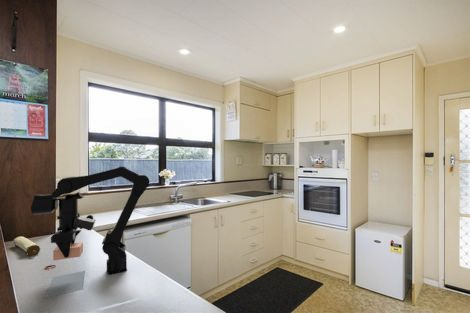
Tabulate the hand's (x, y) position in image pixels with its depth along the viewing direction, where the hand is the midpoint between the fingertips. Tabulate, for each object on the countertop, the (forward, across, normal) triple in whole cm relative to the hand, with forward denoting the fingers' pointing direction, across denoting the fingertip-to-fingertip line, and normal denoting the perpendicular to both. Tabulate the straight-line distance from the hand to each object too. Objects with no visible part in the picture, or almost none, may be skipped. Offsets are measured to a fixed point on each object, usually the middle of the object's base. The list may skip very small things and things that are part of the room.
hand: (68, 254), depth 89 cm
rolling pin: (+9, +45, +27) cm, 54 cm away
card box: (0, 0, 0) cm, 0 cm away
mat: (+9, -4, 0) cm, 10 cm away
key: (+10, +10, +8) cm, 16 cm away
